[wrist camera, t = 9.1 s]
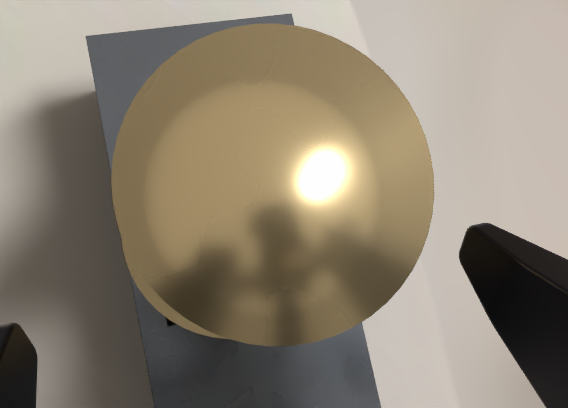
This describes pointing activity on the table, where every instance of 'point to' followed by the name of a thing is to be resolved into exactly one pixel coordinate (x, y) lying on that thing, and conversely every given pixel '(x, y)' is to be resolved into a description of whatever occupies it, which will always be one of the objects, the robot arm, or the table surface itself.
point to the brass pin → (271, 186)
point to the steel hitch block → (199, 348)
